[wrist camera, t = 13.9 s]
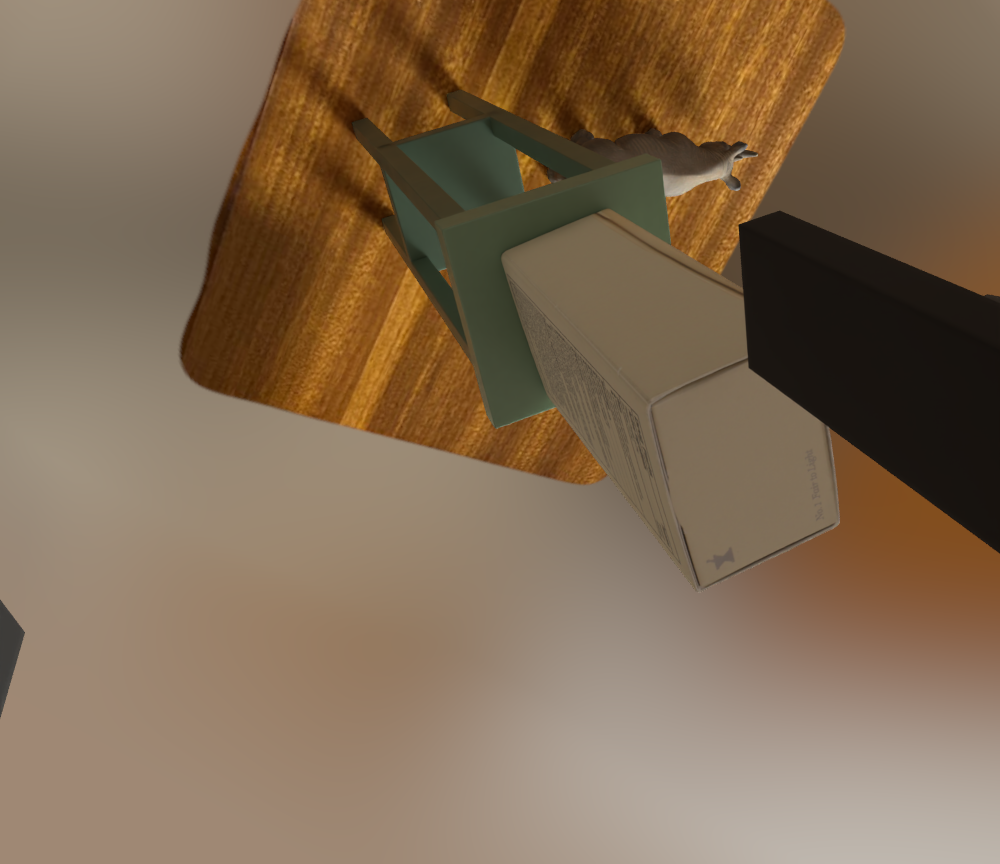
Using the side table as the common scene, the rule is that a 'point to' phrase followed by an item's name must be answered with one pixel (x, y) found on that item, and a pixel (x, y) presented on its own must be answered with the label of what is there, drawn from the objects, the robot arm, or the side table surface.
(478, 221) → the green square board
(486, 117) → the stand
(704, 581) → the cosmetic box
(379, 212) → the side table surface
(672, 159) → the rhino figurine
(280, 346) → the side table surface
